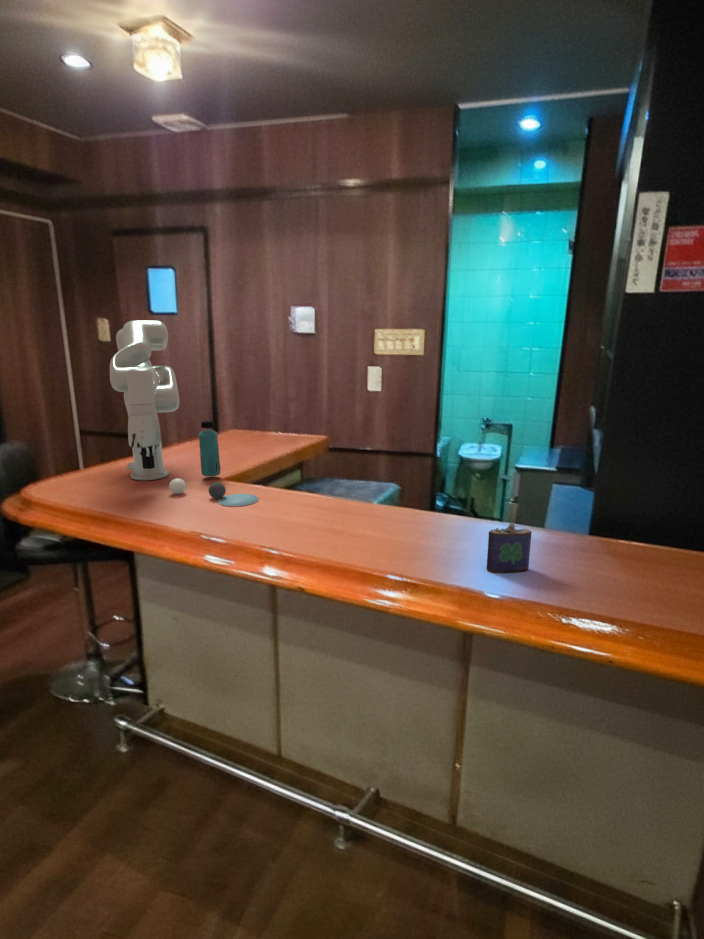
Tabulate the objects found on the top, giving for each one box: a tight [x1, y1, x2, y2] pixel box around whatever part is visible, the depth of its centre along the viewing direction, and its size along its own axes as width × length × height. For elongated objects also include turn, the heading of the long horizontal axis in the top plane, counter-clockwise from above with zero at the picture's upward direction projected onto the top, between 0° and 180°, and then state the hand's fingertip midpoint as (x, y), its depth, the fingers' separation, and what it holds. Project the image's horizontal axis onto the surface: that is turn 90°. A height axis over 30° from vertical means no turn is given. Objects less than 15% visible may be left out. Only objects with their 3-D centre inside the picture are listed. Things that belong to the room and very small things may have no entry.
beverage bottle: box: [198, 420, 221, 477], centre depth 182 cm, size 6×7×20 cm
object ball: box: [208, 481, 227, 500], centre depth 163 cm, size 5×5×5 cm
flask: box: [486, 522, 532, 574], centre depth 114 cm, size 9×3×11 cm, turn 95°
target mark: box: [217, 493, 259, 507], centre depth 161 cm, size 12×12×1 cm
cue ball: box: [168, 477, 187, 495], centre depth 167 cm, size 5×5×5 cm
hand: (148, 468), depth 167 cm, fingers closed
